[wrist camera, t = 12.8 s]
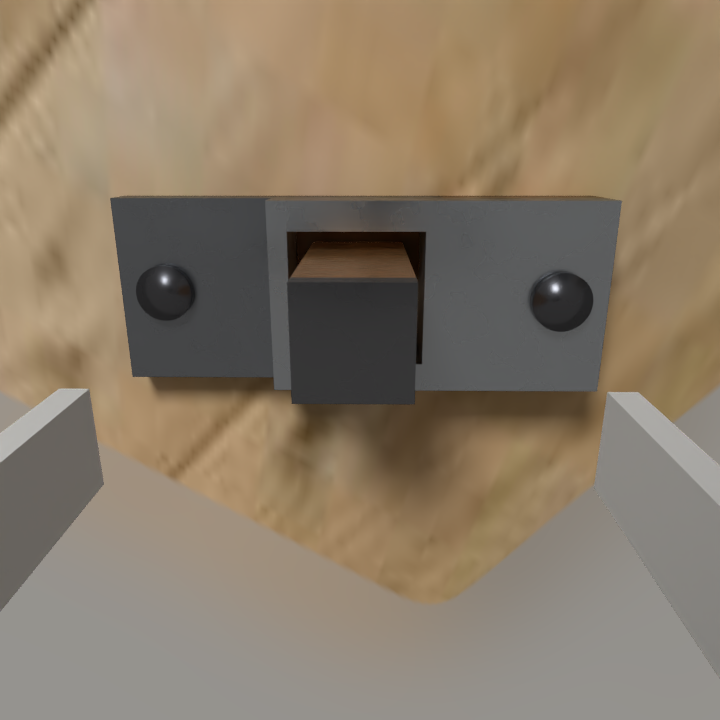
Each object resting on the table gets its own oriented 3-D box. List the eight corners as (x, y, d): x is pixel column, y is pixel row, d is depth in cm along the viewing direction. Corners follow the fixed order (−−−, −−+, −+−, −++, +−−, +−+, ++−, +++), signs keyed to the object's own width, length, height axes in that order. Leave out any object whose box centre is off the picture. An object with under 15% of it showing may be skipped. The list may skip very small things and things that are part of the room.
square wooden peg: (314, 241, 35) (286, 282, 23) (401, 241, 35) (418, 282, 23) (316, 326, 36) (291, 403, 25) (400, 326, 36) (414, 404, 25)
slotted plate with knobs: (124, 195, 34) (88, 201, 30) (593, 195, 34) (626, 201, 29) (144, 365, 37) (115, 393, 33) (573, 367, 37) (600, 395, 32)
